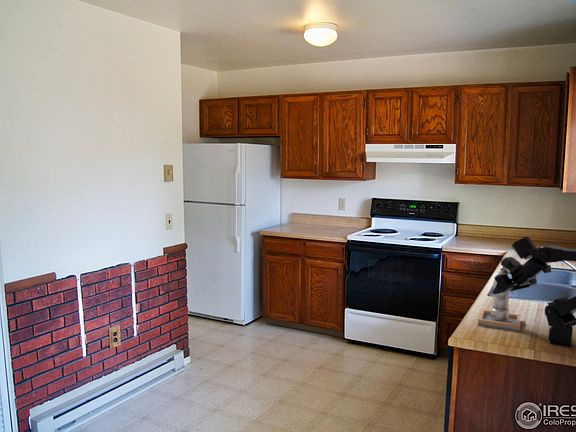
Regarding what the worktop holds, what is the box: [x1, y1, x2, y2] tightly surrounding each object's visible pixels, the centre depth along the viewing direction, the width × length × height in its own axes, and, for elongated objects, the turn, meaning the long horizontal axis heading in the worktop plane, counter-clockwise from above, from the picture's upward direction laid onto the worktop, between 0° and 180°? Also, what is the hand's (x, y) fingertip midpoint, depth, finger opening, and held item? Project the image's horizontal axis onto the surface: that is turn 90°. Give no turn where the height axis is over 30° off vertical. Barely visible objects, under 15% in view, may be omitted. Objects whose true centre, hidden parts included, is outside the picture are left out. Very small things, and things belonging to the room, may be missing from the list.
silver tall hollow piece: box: [490, 268, 512, 322], centre depth 189 cm, size 6×7×20 cm
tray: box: [477, 308, 521, 332], centre depth 190 cm, size 14×14×2 cm
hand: (500, 292), depth 189 cm, fingers open, 9 cm apart
